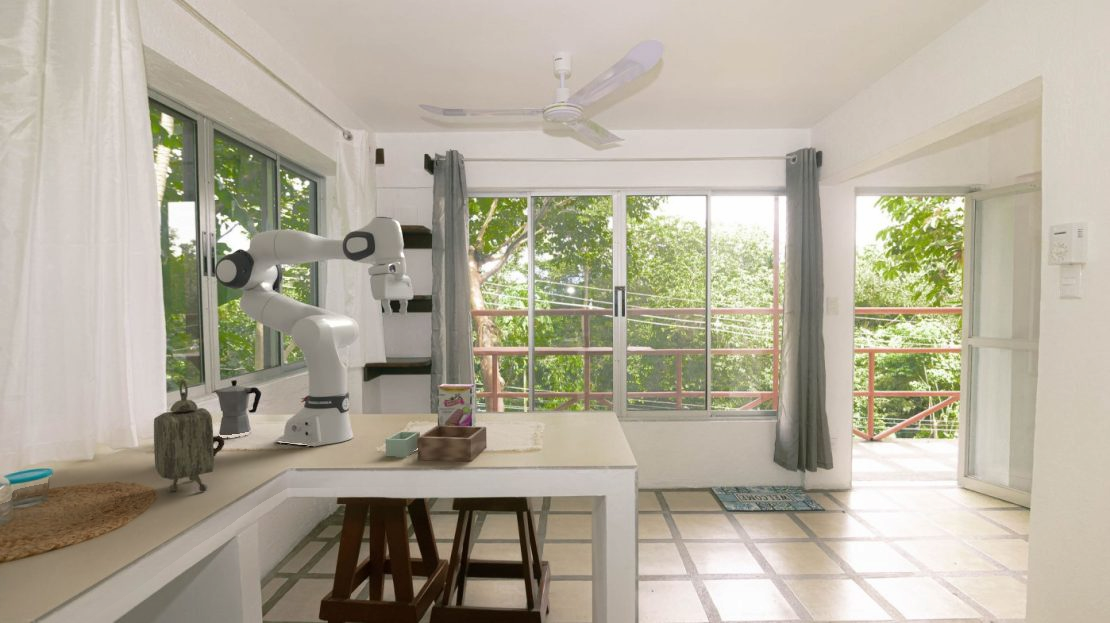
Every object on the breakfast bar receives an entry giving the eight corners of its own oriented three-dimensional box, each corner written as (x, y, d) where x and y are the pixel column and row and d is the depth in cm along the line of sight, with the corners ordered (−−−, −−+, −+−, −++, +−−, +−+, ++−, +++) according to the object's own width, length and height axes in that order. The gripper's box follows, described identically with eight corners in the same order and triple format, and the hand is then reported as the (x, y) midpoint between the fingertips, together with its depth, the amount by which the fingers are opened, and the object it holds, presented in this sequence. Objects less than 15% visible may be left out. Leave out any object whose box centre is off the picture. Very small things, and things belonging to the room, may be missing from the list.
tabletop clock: (214, 491, 120) (212, 381, 119) (165, 502, 113) (162, 386, 113) (200, 477, 130) (197, 375, 130) (154, 486, 124) (151, 379, 123)
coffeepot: (205, 439, 168) (204, 382, 168) (225, 431, 177) (223, 378, 177) (252, 439, 167) (251, 382, 167) (270, 431, 177) (268, 378, 176)
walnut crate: (417, 459, 143) (417, 437, 143) (437, 445, 157) (437, 425, 157) (471, 461, 140) (470, 439, 140) (486, 447, 154) (486, 426, 154)
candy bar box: (437, 438, 165) (436, 386, 165) (442, 434, 170) (441, 383, 170) (472, 439, 164) (471, 386, 164) (476, 435, 169) (475, 383, 169)
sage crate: (385, 457, 146) (385, 439, 146) (400, 448, 155) (400, 431, 155) (406, 458, 145) (406, 439, 145) (420, 449, 154) (419, 432, 154)
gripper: (397, 272, 172) (402, 315, 172) (364, 268, 152) (370, 316, 152) (415, 270, 171) (420, 313, 171) (385, 266, 151) (390, 314, 151)
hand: (396, 314), depth 161 cm, fingers open, 8 cm apart
